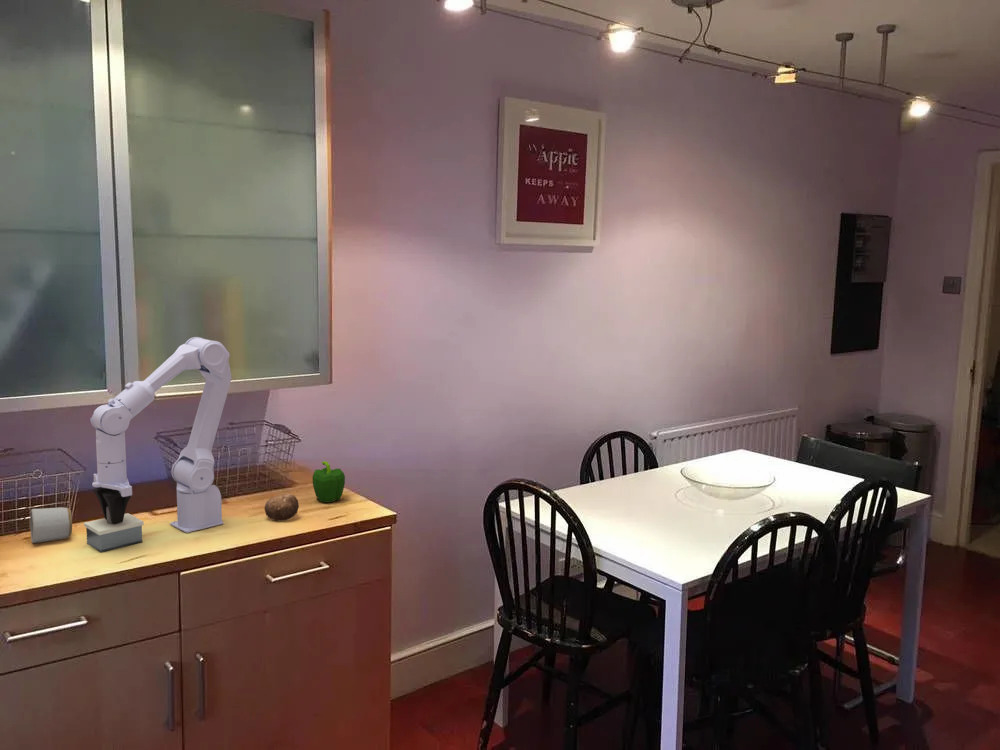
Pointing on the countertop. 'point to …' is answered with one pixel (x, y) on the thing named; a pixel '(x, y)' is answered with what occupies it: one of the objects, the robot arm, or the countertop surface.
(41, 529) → the ceramic mug
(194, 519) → the robot arm
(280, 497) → the brown potato
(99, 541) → the tin
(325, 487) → the bell pepper
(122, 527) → the lid
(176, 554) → the countertop surface
